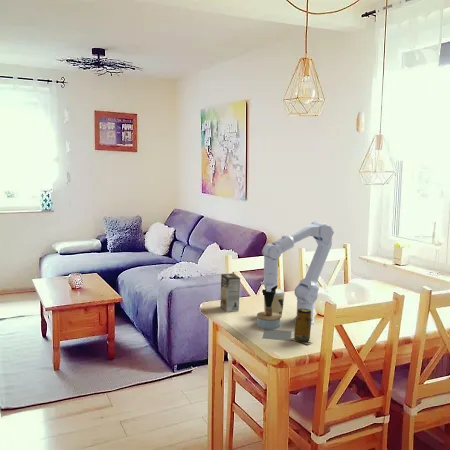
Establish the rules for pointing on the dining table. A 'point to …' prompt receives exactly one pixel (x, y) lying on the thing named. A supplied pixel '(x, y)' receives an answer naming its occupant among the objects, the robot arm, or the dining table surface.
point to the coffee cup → (277, 302)
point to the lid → (268, 315)
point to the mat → (277, 334)
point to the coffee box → (230, 292)
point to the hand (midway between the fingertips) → (269, 304)
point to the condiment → (303, 326)
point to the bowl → (268, 324)
